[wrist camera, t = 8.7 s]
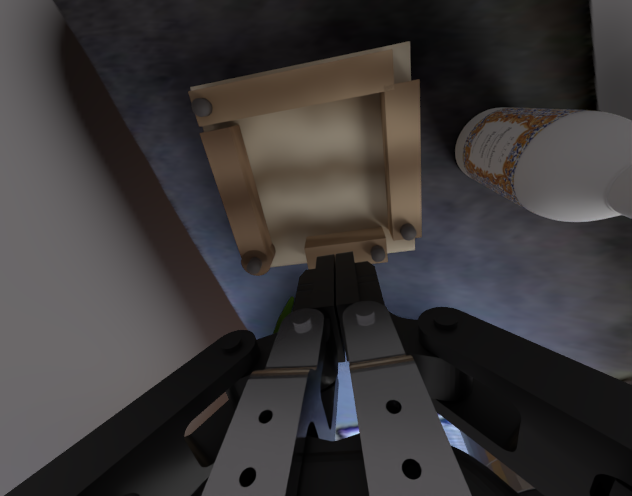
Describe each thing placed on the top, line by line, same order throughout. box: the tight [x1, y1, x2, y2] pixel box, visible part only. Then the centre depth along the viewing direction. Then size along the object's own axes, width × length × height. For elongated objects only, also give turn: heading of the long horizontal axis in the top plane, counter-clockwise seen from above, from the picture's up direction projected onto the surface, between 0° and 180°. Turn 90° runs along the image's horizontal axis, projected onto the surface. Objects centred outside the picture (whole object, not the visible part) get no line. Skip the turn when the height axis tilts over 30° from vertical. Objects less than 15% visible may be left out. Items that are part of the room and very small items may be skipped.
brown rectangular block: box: [200, 125, 276, 276], centre depth 30 cm, size 15×3×4 cm, turn 10°
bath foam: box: [455, 107, 632, 222], centre depth 21 cm, size 7×7×20 cm
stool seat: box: [188, 41, 422, 269], centre depth 29 cm, size 20×20×6 cm
